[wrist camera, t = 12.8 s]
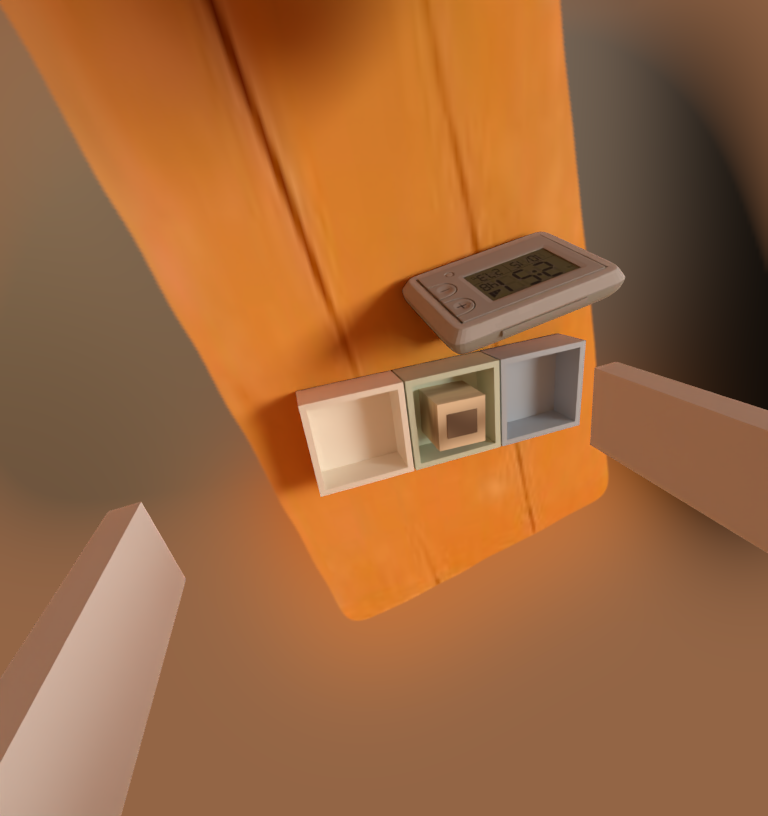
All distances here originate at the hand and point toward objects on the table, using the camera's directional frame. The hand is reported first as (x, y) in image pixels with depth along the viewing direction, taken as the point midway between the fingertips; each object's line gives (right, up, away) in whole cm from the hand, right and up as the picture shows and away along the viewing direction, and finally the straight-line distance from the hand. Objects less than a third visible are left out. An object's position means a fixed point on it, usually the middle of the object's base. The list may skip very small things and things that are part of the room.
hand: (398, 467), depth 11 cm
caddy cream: (-4, 0, +29) cm, 29 cm away
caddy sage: (+6, +2, +31) cm, 31 cm away
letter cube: (+6, +2, +30) cm, 31 cm away
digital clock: (+9, +14, +27) cm, 32 cm away
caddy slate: (+15, +5, +33) cm, 36 cm away
